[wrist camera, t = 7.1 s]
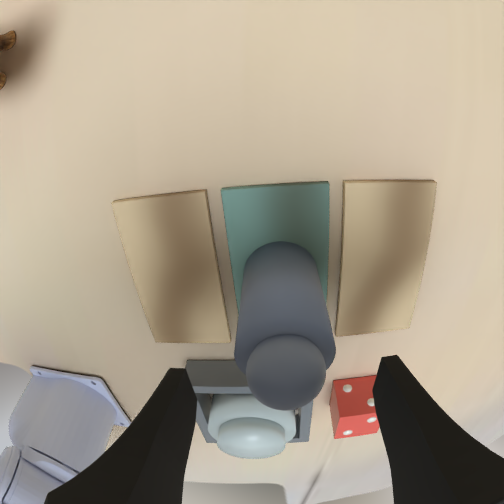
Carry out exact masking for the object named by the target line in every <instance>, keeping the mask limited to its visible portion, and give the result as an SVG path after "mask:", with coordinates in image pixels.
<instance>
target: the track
mask: <svg viewBox="0 0 504 504" xmlns="http://www.w3.org/2000/svg"><path fill="white" fill-rule="evenodd" d="M436 186H437V182H435V181H434V180H359V181H343V226H342V250H341V267H340V282H339V295H338V307H337V318H336V328H335V335H336V337H338V336H348V335H358V334H367V333H376V332H384V331H392V330H399V329H406V328H409V326H410V323H411V319H412V316H413V312H414V308H415V304H416V300H417V296H418V292H419V288H420V283H421V279H422V274H423V270H424V265H425V260H426V255H427V249H428V244H429V238H430V232H431V226H432V219H433V212H434V204H435V196H436ZM221 195H222V202H223V210H224V217H225V224H226V232H227V239H228V246H229V253H230V260H231V267H232V274H233V281H234V288H235V294H236V301H237V308H238V314H239V308H240V299H241V290H242V282H243V273H244V267H245V263H246V261H247V259H248V258H249V256H250V255H251V254H252V253H253V252H254V251H255V250H256V249H258V248H259V247H261V246H263V245H265V244H268V243H272V242H278V241H285V242H291V243H295V244H297V245H300V246H301V247H303V248H305V249H306V250H307V251H308V252H309V253H310V254H311V255H312V257H313V258H314V260H315V263H316V266H317V270H318V274H319V278H320V282H321V286H322V290H323V294H324V298H325V303H326V299H327V279H328V252H329V183H328V181H325V182H302V183H284V184H268V185H254V186H241V187H229V188H222V189H221ZM111 204H112V208H113V212H114V215H115V219H116V223H117V227H118V230H119V234H120V238H121V241H122V245H123V248H124V251H125V255H126V258H127V261H128V265H129V268H130V271H131V274H132V277H133V280H134V283H135V286H136V289H137V292H138V295H139V298H140V301H141V304H142V307H143V310H144V312H145V315H146V318H147V321H148V323H149V326H150V329H151V331H152V334H153V336H154V339H155V342H164V343H231V335H230V330H229V324H228V319H227V313H226V308H225V302H224V297H223V291H222V285H221V279H220V274H219V268H218V262H217V256H216V250H215V243H214V237H213V231H212V225H211V218H210V212H209V205H208V198H207V192H206V190H197V191H187V192H178V193H169V194H161V195H152V196H145V197H137V198H130V199H122V200H115V201H113V202H112V203H111Z"/></svg>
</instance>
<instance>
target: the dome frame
mask: <svg viewBox="0 0 504 504" xmlns="http://www.w3.org/2000/svg"><path fill="white" fill-rule="evenodd" d="M185 369H186V371H187V373H188V376H189V379H190V381H191V384H192V387H193V389H194V392H195V395H196V397H197V411H196V421H197V423H198V425H199V427H200V430H201V432H202V434H203V436H204V438H205V440H206V442H207V443H217V440H215V439H214V438H213V437H212V436H211V435H210V434H209V432H208V423H209V416H210V409H211V403H212V402H211V399H210V396H209V393H213V394H252V392H251V391H250V389H249V386H248V383H247V379H246V375H245V374H244V373H243V372H242V371H241V370H240V369H239V368H238V366H237V364H236V361H235V360H187V364H186V368H185ZM312 406H313V400H312V401H311V402H310V403H308V404H307V405H305V406H303V407H301V408H298V416H295V421H296V434H295V436H294V437H293V439H292V440H290V441H289V442H288V443H293V442H308V441H309V434H310V425H311V416H312Z"/></svg>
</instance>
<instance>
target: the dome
mask: <svg viewBox="0 0 504 504" xmlns="http://www.w3.org/2000/svg"><path fill="white" fill-rule="evenodd" d="M208 432H209V434H210V435H211V436H212V437H213V438H214V439H215V440H217V446H218V448H219V449H220V450H222V451H223V452H225V453H227V454H229V455H232V456H235V457H240V458H247V459H261V458H268V457H272V456H275V455H277V454H279V453H281V452H282V451H283V450H284V449H285V444H286V443H288V442H289V441H290V440H292V439H293V437H294V436H295V434H296V421H295V410H288V411H282V410H276V409H272V408H269V407H267V406H265V405H264V404H262V403H261V402H260V401H258V400H257V399H256V398H255V396H254V395H253V394H214V395H213V398H212V403H211V409H210V416H209V423H208Z"/></svg>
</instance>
